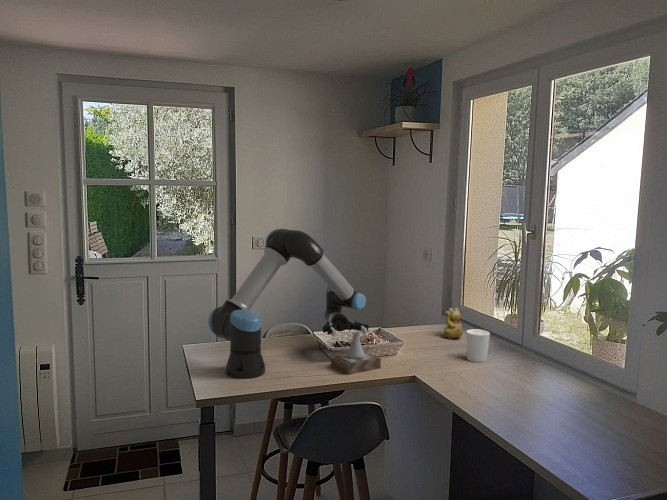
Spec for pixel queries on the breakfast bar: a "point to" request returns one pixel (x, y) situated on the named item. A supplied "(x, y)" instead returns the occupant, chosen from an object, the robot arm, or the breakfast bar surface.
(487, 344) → the candle holder
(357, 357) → the flask
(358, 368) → the walnut stand
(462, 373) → the breakfast bar surface
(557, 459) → the breakfast bar surface
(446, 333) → the decorative figurine
